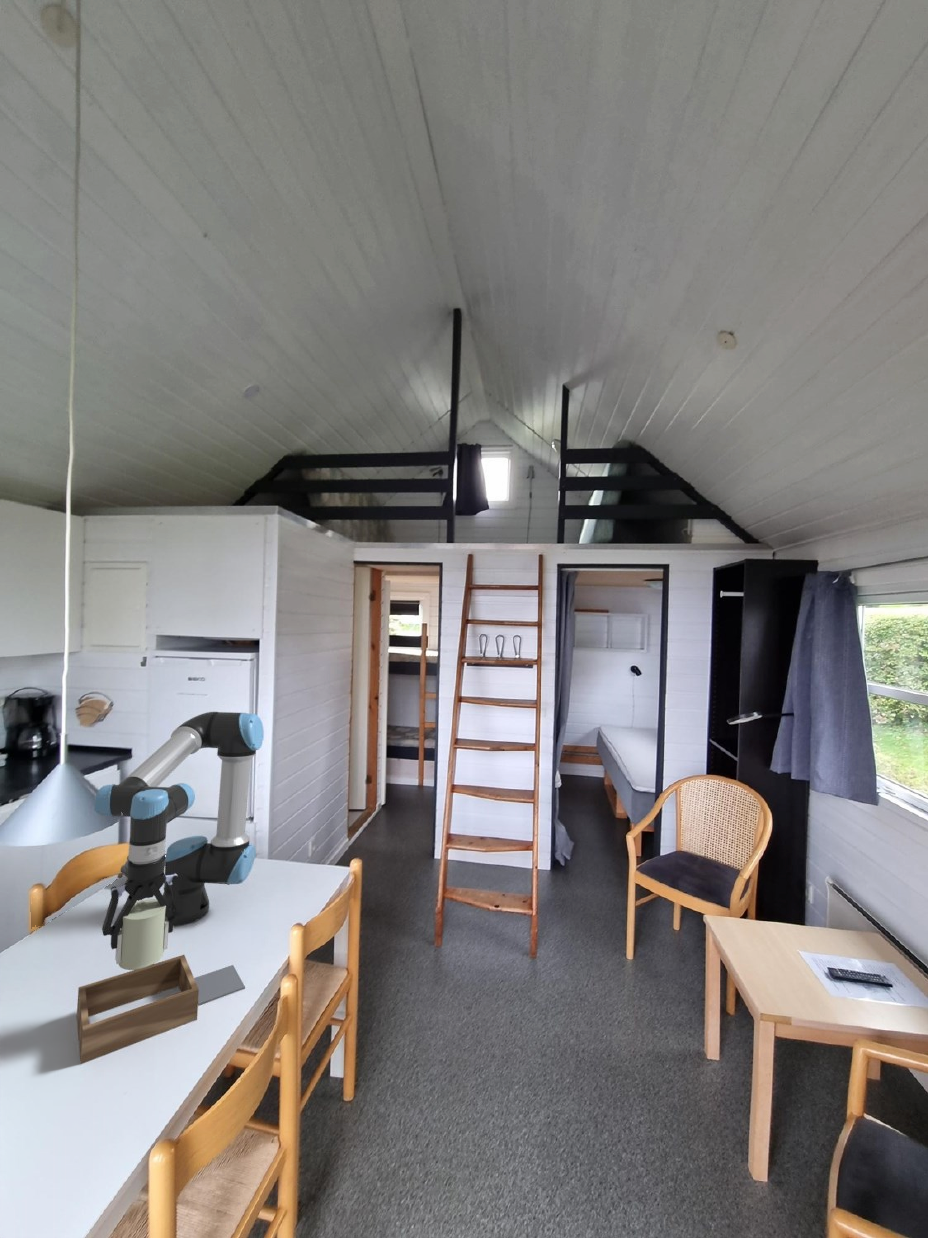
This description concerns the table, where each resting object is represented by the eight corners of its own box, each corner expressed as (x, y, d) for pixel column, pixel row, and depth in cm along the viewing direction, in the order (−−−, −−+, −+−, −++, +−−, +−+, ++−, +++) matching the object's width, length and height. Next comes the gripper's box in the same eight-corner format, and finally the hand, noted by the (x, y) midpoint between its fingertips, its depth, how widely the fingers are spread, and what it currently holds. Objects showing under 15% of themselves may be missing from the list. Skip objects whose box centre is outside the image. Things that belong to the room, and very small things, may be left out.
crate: (76, 1017, 124) (78, 987, 124) (182, 981, 138) (184, 954, 138) (80, 1064, 111) (82, 1030, 111) (197, 1019, 125) (198, 989, 125)
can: (157, 941, 132) (160, 893, 132) (168, 959, 125) (171, 908, 125) (114, 956, 125) (117, 905, 125) (123, 976, 119) (126, 922, 119)
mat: (188, 981, 138) (188, 980, 138) (232, 966, 145) (233, 965, 145) (198, 1005, 130) (198, 1004, 130) (244, 988, 137) (245, 987, 137)
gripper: (92, 876, 116) (87, 979, 116) (200, 853, 129) (195, 945, 129) (90, 863, 122) (84, 961, 122) (193, 842, 135) (188, 931, 135)
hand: (141, 953), depth 125 cm, fingers closed on can, 9 cm apart
